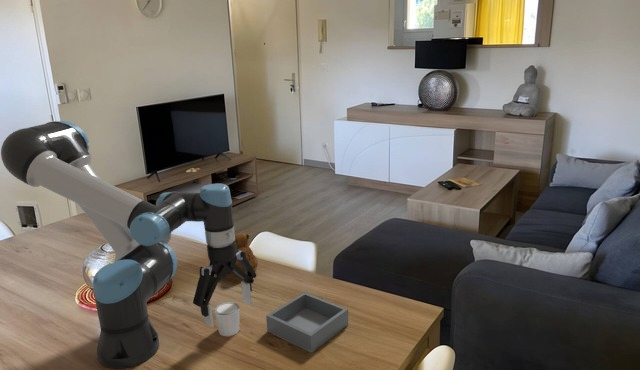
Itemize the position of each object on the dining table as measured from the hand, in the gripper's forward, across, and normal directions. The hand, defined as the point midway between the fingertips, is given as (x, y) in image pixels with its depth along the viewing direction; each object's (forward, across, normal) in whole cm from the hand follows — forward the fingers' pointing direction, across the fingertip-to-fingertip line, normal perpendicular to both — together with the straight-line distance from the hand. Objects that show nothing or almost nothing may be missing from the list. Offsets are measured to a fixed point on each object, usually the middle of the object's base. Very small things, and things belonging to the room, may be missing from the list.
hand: (229, 314), depth 135 cm
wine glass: (+5, +14, +52) cm, 54 cm away
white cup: (+5, 0, 0) cm, 5 cm away
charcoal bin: (+6, +14, -16) cm, 22 cm away
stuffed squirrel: (+5, +28, +25) cm, 38 cm away
